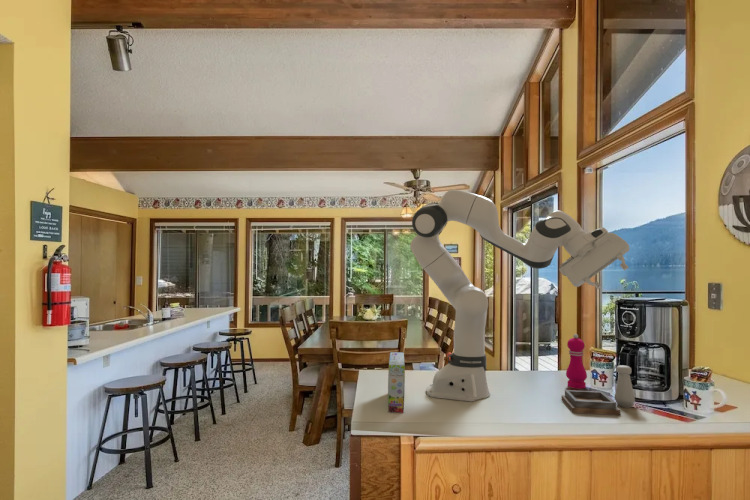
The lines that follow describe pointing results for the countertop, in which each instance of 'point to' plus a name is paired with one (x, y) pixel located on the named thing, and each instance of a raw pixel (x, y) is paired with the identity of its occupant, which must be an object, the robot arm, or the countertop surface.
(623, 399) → the salt shaker
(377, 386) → the countertop surface
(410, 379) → the countertop surface
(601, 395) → the tray
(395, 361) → the snack box
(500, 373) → the countertop surface
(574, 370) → the pepper mill
